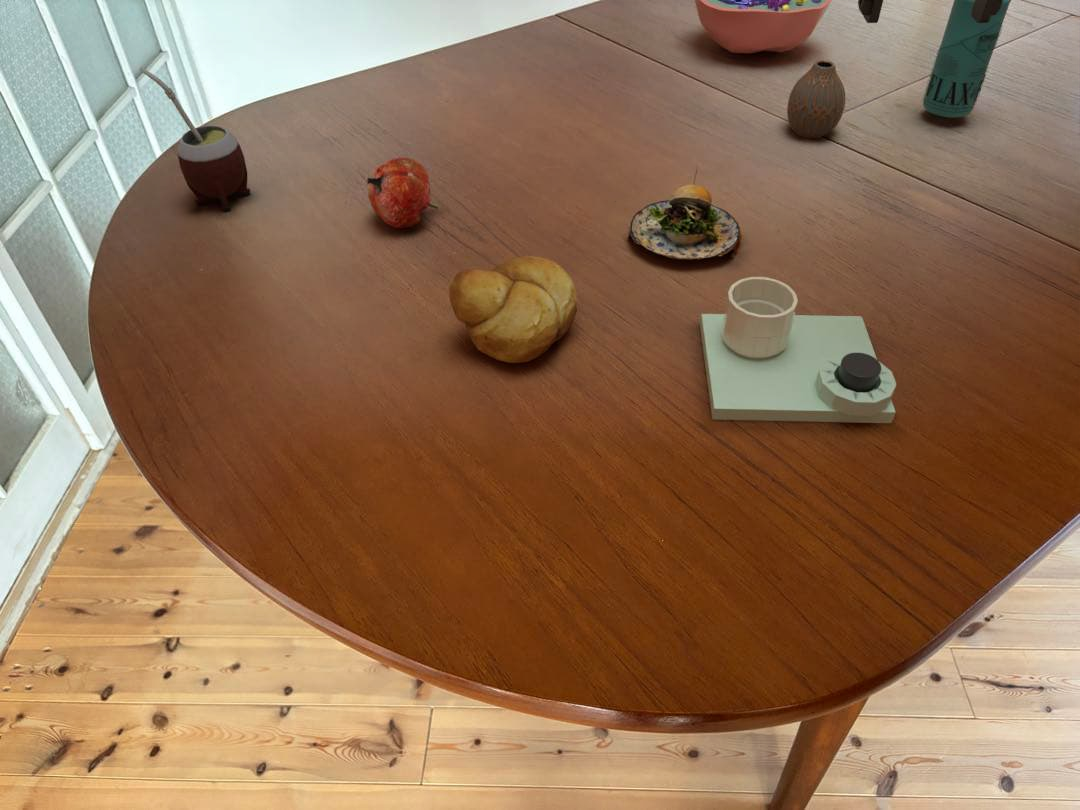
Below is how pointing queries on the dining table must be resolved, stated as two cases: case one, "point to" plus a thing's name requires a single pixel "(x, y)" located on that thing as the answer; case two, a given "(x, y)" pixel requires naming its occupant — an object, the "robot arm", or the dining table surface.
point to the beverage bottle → (962, 60)
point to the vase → (816, 101)
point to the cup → (758, 317)
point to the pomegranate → (400, 192)
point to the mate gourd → (209, 159)
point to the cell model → (760, 23)
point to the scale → (795, 375)
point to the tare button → (859, 372)
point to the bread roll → (515, 307)
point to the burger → (686, 226)
